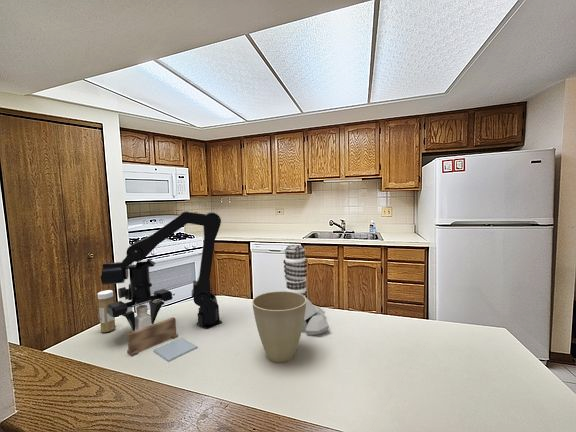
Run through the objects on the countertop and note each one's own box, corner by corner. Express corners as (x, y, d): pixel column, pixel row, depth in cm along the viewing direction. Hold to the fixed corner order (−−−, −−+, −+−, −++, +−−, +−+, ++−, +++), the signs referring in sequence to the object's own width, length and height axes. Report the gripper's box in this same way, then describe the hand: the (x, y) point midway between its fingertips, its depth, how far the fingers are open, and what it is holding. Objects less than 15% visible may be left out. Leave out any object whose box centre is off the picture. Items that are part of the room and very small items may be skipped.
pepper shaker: (152, 333, 95) (151, 305, 94) (141, 338, 91) (139, 309, 91) (145, 330, 97) (144, 303, 96) (134, 335, 93) (132, 307, 93)
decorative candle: (301, 315, 105) (299, 248, 103) (280, 310, 110) (278, 247, 108) (312, 307, 113) (310, 244, 111) (292, 303, 118) (290, 243, 116)
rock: (320, 312, 108) (319, 287, 108) (337, 337, 88) (337, 307, 88) (272, 316, 105) (272, 291, 105) (279, 343, 86) (278, 312, 85)
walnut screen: (172, 334, 94) (171, 316, 93) (177, 337, 92) (176, 318, 91) (127, 352, 83) (125, 333, 83) (131, 356, 81) (130, 336, 80)
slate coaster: (181, 339, 90) (181, 337, 90) (197, 348, 84) (197, 346, 84) (153, 351, 83) (153, 349, 83) (168, 362, 77) (168, 360, 77)
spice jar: (116, 330, 98) (113, 292, 97) (100, 334, 95) (97, 294, 94) (115, 325, 102) (112, 288, 101) (100, 329, 99) (97, 291, 98)
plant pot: (298, 377, 69) (296, 313, 68) (244, 366, 74) (242, 307, 73) (314, 346, 83) (312, 293, 82) (267, 339, 88) (266, 288, 87)
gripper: (156, 270, 105) (159, 311, 106) (98, 283, 91) (102, 331, 92) (171, 275, 98) (174, 319, 99) (111, 290, 84) (115, 341, 85)
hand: (143, 327), depth 94 cm, fingers open, 6 cm apart
